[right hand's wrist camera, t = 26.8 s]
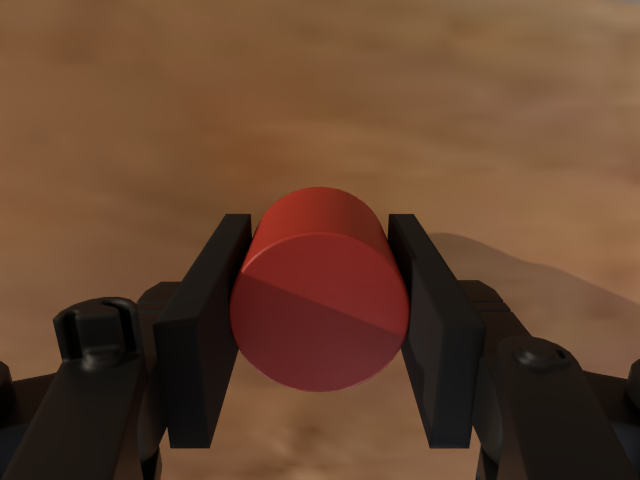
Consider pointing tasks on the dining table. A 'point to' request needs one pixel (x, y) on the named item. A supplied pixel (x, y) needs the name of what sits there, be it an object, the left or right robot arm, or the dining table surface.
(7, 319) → the dining table surface
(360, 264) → the can
